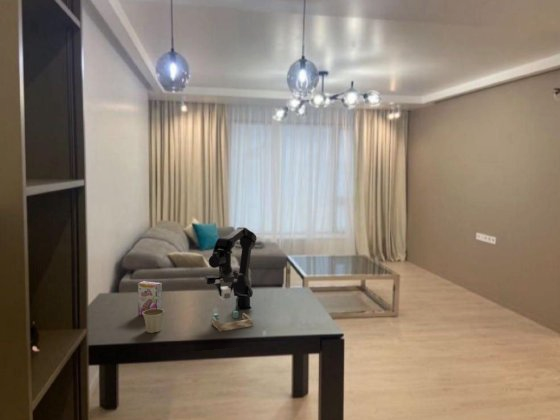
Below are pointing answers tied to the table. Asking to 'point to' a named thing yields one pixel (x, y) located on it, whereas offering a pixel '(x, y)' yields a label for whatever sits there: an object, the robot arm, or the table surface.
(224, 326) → the open wooden frame
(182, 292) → the table surface
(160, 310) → the flower pot
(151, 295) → the candy bar box
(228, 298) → the block
